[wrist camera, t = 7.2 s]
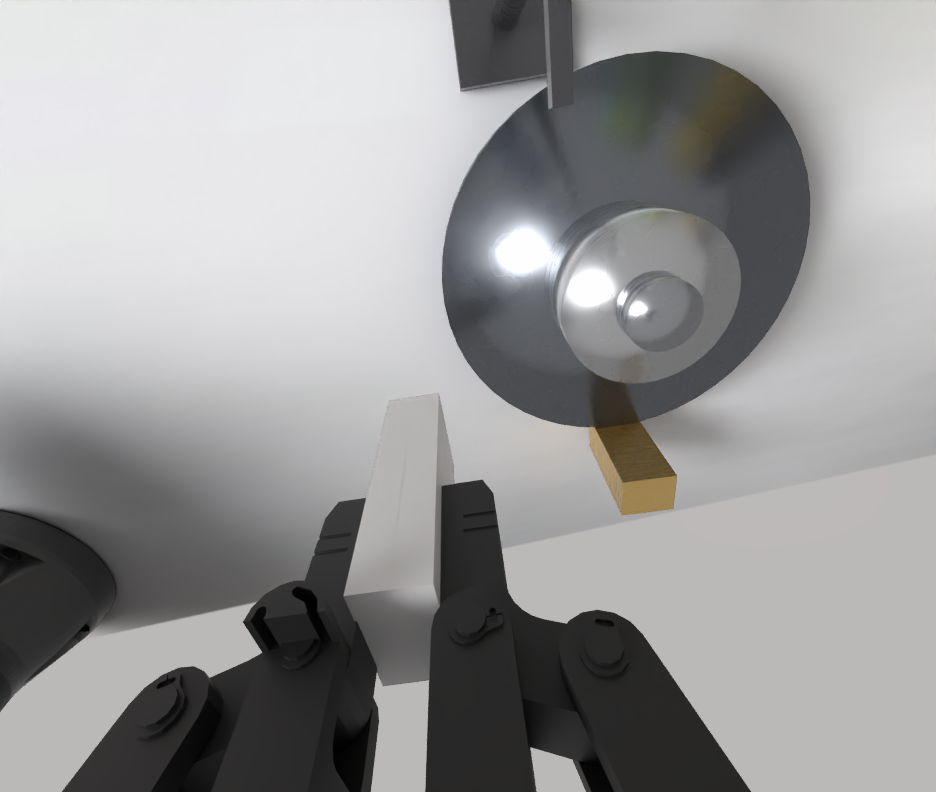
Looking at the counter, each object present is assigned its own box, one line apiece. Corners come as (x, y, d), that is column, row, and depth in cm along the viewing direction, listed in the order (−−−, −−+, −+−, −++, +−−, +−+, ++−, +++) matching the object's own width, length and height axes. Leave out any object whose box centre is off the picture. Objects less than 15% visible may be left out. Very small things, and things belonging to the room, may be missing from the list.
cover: (547, 352, 26) (571, 408, 21) (541, 211, 23) (569, 231, 17) (680, 336, 26) (743, 388, 20) (698, 190, 22) (782, 202, 16)
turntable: (474, 461, 32) (478, 533, 26) (410, 96, 21) (392, 73, 15) (750, 424, 31) (822, 490, 25) (831, 22, 20) (995, -35, 14)
